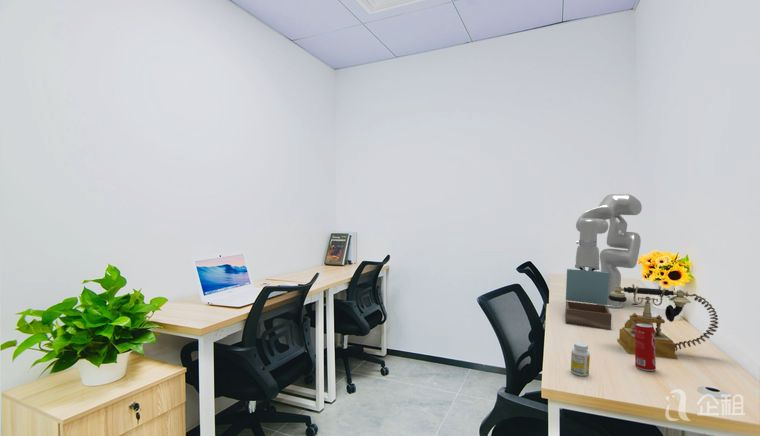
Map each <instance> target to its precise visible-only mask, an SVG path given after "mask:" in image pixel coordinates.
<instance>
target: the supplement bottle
mask: <svg viewBox="0 0 760 436" xmlns="http://www.w3.org/2000/svg"><path fill="white" fill-rule="evenodd" d="M573 347H574V348H572V349H571V358H570V372H571V373H572V374H574V375H577V376H580V377H585V376H586V377H587V376H589V374H590V373H589V372H590V358H591V354H590V352H589V345H588V344H587V343H584V342H579V341H576V342H574V344H573Z"/></svg>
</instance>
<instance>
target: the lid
mask: <svg viewBox="0 0 760 436" xmlns="http://www.w3.org/2000/svg"><path fill="white" fill-rule="evenodd" d="M566 269H567V270H566V282H565V283H566V285H565V286H566V287H565V301H569V302H578V303H586V304H595V305H598V304H602V305H607V298H608V280H609V272H601V271H599V270H594V271H588V270H586V269H585V270H580V269H576V268H575V269H574V268H573V269H572V268H566Z"/></svg>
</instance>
